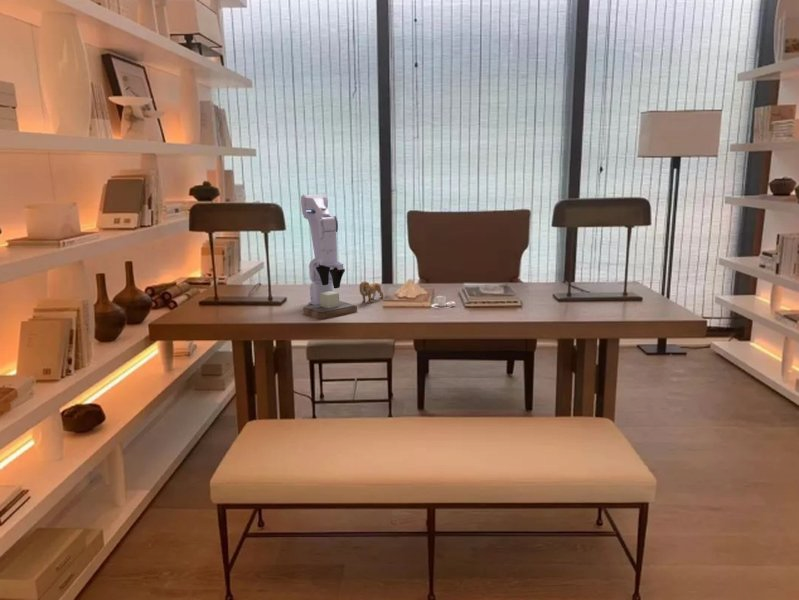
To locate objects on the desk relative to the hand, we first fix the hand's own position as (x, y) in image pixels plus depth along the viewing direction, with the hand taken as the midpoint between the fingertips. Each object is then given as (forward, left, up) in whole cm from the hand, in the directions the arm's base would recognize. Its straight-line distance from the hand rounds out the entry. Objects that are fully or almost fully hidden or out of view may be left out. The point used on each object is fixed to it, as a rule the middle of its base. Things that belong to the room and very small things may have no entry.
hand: (330, 286), depth 233 cm
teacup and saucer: (+24, +35, -11) cm, 44 cm away
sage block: (0, -1, -7) cm, 7 cm away
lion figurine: (-4, +22, -10) cm, 24 cm away
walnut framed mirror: (0, -1, -10) cm, 10 cm away
